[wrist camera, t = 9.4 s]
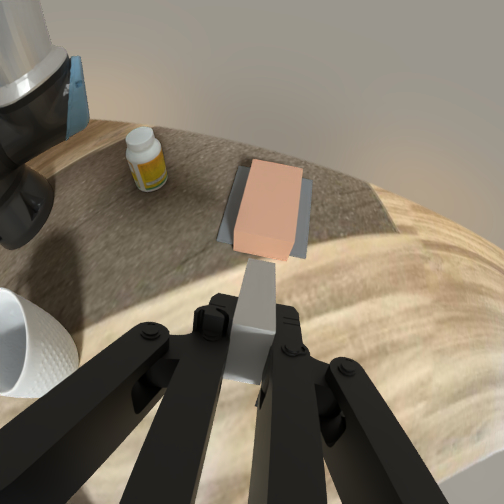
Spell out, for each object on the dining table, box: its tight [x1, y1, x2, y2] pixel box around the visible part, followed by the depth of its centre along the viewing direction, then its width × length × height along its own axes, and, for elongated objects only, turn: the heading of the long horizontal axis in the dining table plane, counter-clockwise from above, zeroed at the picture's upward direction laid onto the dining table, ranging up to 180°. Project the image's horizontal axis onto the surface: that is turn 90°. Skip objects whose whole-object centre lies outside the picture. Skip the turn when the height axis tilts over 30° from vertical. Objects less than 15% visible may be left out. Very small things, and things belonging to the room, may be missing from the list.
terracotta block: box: [233, 159, 303, 261], centre depth 36 cm, size 5×7×12 cm
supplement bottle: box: [126, 127, 167, 192], centre depth 36 cm, size 5×5×10 cm
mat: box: [217, 166, 313, 259], centre depth 39 cm, size 14×12×1 cm
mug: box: [0, 288, 79, 398], centre depth 21 cm, size 15×11×13 cm
